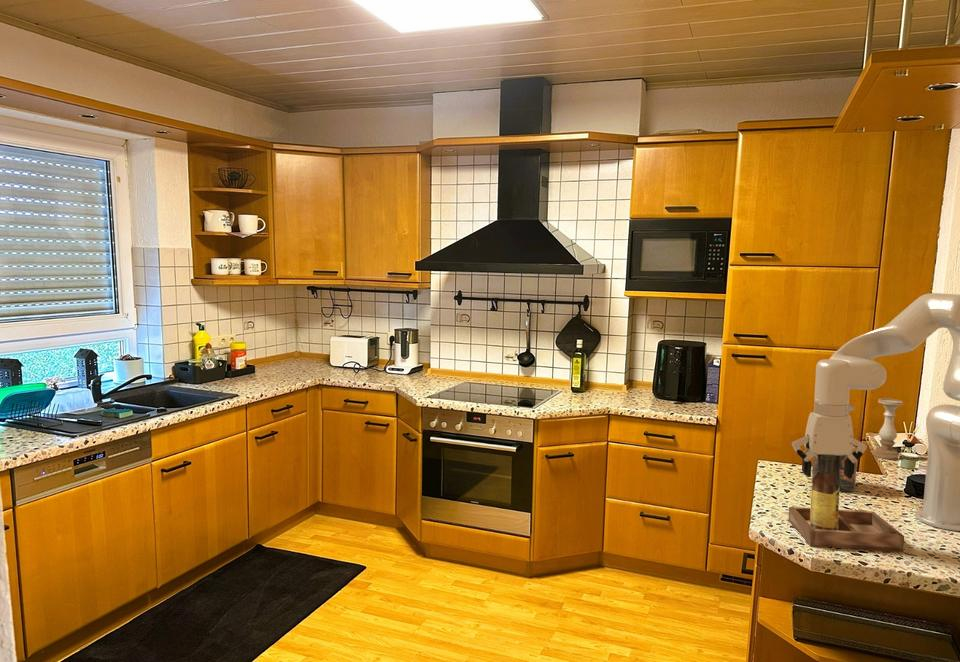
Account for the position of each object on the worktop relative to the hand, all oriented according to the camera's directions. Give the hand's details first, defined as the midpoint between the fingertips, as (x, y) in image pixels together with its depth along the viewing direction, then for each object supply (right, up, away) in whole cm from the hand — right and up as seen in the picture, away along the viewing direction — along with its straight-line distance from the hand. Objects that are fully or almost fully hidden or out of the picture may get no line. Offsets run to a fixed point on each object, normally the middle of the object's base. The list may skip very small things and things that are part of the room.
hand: (827, 476), depth 159 cm
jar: (+22, -12, +37) cm, 45 cm away
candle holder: (+58, -9, +68) cm, 90 cm away
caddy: (+4, -15, +1) cm, 16 cm away
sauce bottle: (0, -14, +2) cm, 14 cm away
